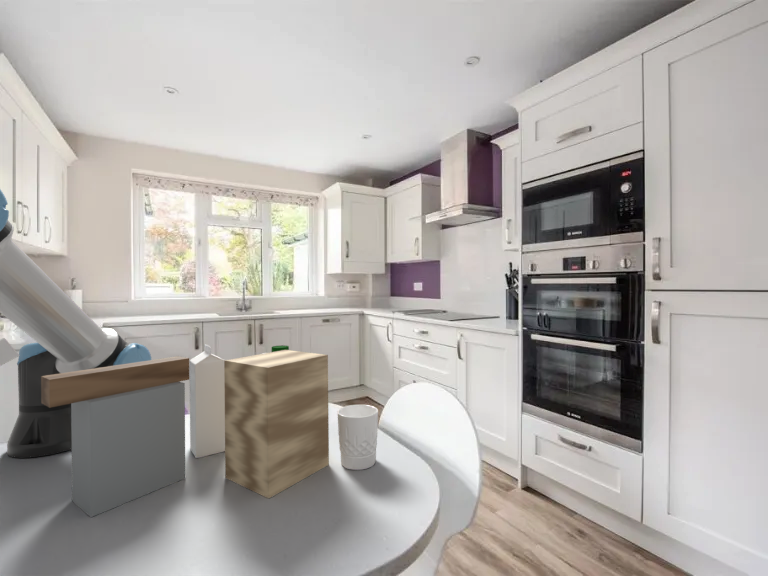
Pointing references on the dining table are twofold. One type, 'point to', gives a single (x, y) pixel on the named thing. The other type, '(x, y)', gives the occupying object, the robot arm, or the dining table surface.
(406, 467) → the dining table surface
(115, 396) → the grey block
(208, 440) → the milk
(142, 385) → the bar
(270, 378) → the oak block
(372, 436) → the white cup
